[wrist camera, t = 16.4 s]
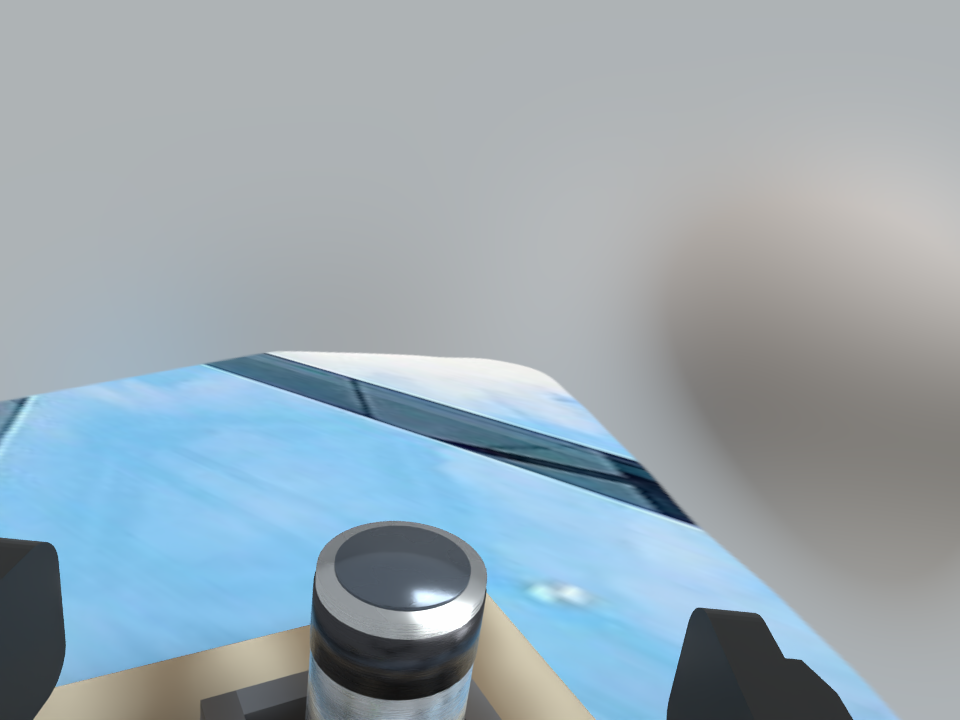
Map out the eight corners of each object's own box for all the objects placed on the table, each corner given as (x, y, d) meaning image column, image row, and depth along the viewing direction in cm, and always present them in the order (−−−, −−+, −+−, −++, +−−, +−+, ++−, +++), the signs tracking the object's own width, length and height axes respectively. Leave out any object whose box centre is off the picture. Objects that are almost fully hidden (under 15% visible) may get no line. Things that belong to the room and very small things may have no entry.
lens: (449, 761, 27) (487, 525, 24) (445, 900, 22) (491, 630, 19) (313, 748, 27) (332, 508, 24) (278, 886, 22) (297, 609, 19)
